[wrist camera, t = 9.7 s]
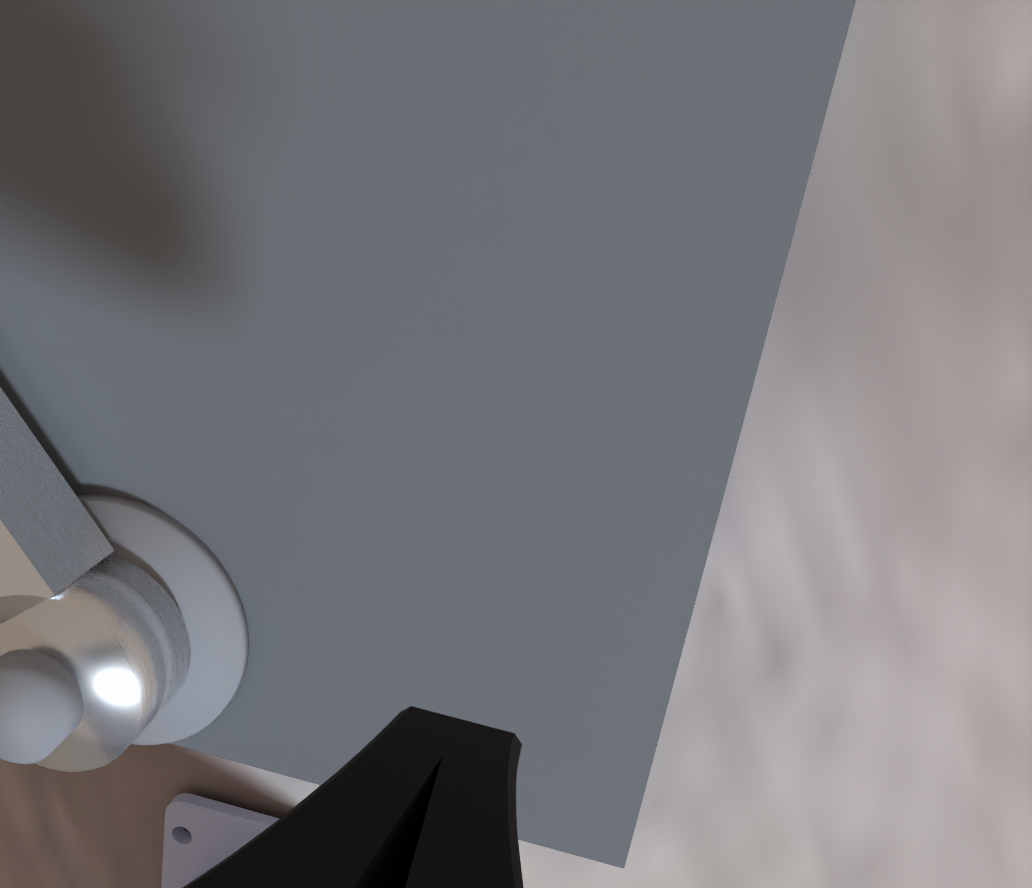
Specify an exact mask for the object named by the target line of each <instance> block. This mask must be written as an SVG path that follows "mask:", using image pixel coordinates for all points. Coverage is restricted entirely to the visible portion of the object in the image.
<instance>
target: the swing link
mask: <svg viewBox="0 0 1032 888" xmlns="http://www.w3.org/2000/svg"><path fill="white" fill-rule="evenodd" d="M113 551H115V550H114V549H113V548H112V546H111V545H110V543H109V542H108V540H107V539H106V538H105V536H104V535H103V533H102V532H101V530H100V529H99V528H98V526H97V525H96V523H95V522H94V520H93V519H92V518H91V516H90V515H89V513H88V512H87V510H86V509H85V508H84V506H83V505H82V503H81V502H80V500H79V499H78V498H77V496H76V495H75V493H74V492H73V490H72V489H71V487H70V486H69V485H68V483H67V482H66V480H65V479H64V477H63V476H62V475H61V473H60V472H59V470H58V469H57V467H56V466H55V465H54V463H53V462H52V460H51V459H50V457H49V456H48V455H47V453H46V452H45V450H44V449H43V447H42V446H41V445H40V443H39V442H38V440H37V439H36V437H35V436H34V434H33V433H32V432H31V430H30V429H29V427H28V426H27V424H26V423H25V422H24V420H23V419H22V417H21V416H20V414H19V413H18V412H17V410H16V409H15V407H14V406H13V404H12V403H11V402H10V400H9V399H8V397H7V396H6V394H5V393H4V392H3V390H2V389H1V387H0V656H2V655H3V654H5V653H7V652H9V651H12V650H17V649H28V650H34V651H38V652H41V653H43V654H46V655H48V656H50V657H51V658H53V659H55V660H56V661H58V662H59V663H60V664H61V665H62V666H64V667H65V668H66V669H67V670H68V671H69V673H70V674H71V675H72V676H73V678H74V679H75V681H76V683H77V684H78V686H79V689H80V691H81V694H82V698H83V707H84V708H83V715H82V719H81V721H80V723H79V725H78V726H77V727H76V729H75V730H74V731H73V732H72V733H71V734H70V735H69V736H67V737H66V738H65V739H64V740H63V741H62V742H61V743H60V744H59V745H58V746H57V747H56V748H55V749H54V750H53V751H52V752H51V753H50V754H49V755H48V756H47V757H45V758H44V759H42V760H40V761H38V762H35V763H34V764H36V765H39V766H42V767H45V768H49V769H53V770H58V771H67V772H80V771H88V770H93V769H97V768H100V767H102V766H105V765H107V764H109V763H110V762H112V761H114V760H115V759H116V758H118V757H119V756H120V755H121V754H122V753H123V752H124V751H125V750H126V749H127V748H128V747H129V746H130V745H131V743H132V742H133V741H134V740H135V739H136V738H137V737H138V736H139V735H140V734H141V732H142V731H143V730H144V729H145V728H146V727H147V726H148V725H149V724H150V723H151V722H152V720H153V719H154V718H155V717H156V716H157V715H158V714H159V713H160V712H161V711H162V709H163V708H164V707H165V706H166V705H167V704H168V703H169V702H170V701H171V700H172V698H173V697H174V696H175V695H176V694H177V693H178V692H179V690H180V689H181V687H182V686H183V684H184V682H185V680H186V677H187V675H188V671H189V667H190V659H191V647H190V640H189V635H188V631H187V628H186V625H185V622H184V620H183V617H182V615H181V613H180V611H179V609H178V608H177V606H176V604H175V603H174V601H173V600H172V598H171V597H170V596H169V595H168V593H167V592H166V591H165V590H164V589H163V588H162V586H161V585H160V584H159V583H158V582H157V581H156V580H154V579H153V578H152V577H151V576H150V575H148V574H147V573H146V572H144V571H143V570H142V569H140V568H139V567H137V566H135V565H134V564H132V563H130V562H128V561H126V560H124V559H121V558H119V557H116V556H114V555H110V554H111V553H112V552H113Z"/></svg>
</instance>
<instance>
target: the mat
mask: <svg viewBox="0 0 1032 888" xmlns="http://www.w3.org/2000/svg"><path fill="white" fill-rule="evenodd" d="M855 1H856V0H0V387H1V389H2V390H3V392H4V393H5V394H6V396H7V397H8V399H9V400H10V402H11V403H12V404H13V406H14V407H15V409H16V410H17V412H18V413H19V414H20V416H21V417H22V419H23V420H24V422H25V423H26V424H27V426H28V427H29V429H30V430H31V432H32V433H33V434H34V436H35V437H36V439H37V440H38V442H39V443H40V445H41V446H42V447H43V449H44V450H45V452H46V453H47V455H48V456H49V457H50V459H51V460H52V462H53V463H54V465H55V466H56V467H57V469H58V470H59V472H60V473H61V475H62V476H63V477H64V479H65V480H66V482H67V483H68V485H69V486H70V487H71V489H72V490H73V492H74V493H75V495H76V496H77V498H78V499H79V500H80V502H81V503H82V505H83V506H84V508H85V509H86V510H87V512H88V513H89V515H90V516H91V518H92V519H93V520H94V522H95V523H96V525H97V526H98V528H99V529H100V530H101V532H102V533H103V535H104V536H105V538H106V539H107V540H108V542H109V543H110V545H111V546H112V548H113V549H114V550H115V551H113V552H112V553H111V554H110V555H114V556H116V557H119V558H121V559H124V560H126V561H128V562H130V563H132V564H134V565H135V566H137V567H139V568H140V569H142V570H143V571H144V572H146V573H147V574H148V575H150V576H151V577H152V578H153V579H154V580H156V581H157V582H158V583H159V584H160V585H161V586H162V588H163V589H164V590H165V591H166V592H167V593H168V595H169V596H170V597H171V598H172V600H173V601H174V603H175V604H176V606H177V608H178V609H179V611H180V613H181V615H182V617H183V620H184V622H185V625H186V628H187V631H188V635H189V640H190V647H191V659H190V667H189V671H188V675H187V677H186V680H185V682H184V684H183V686H182V687H181V689H180V690H179V692H178V693H177V694H176V695H175V696H174V697H173V698H172V700H171V701H170V702H169V703H168V704H167V705H166V706H165V707H164V708H163V709H162V711H161V712H160V713H159V714H158V715H157V716H156V717H155V718H154V719H153V720H152V722H151V723H150V724H149V725H148V726H147V727H146V728H145V729H144V730H143V731H142V732H141V734H140V735H139V736H138V737H137V738H136V739H135V740H134V741H133V742H132V743H131V744H135V745H158V744H164V743H170V744H173V745H177V746H180V747H184V748H188V749H191V750H195V751H199V752H202V753H206V754H210V755H213V756H217V757H220V758H224V759H228V760H231V761H235V762H239V763H242V764H246V765H249V766H253V767H257V768H260V769H264V770H268V771H271V772H275V773H279V774H282V775H286V776H289V777H293V778H297V779H300V780H304V781H308V782H311V783H315V784H319V785H322V784H323V783H324V782H325V781H327V780H328V779H329V778H330V777H331V776H333V775H334V774H335V773H336V772H337V771H338V770H340V769H341V768H342V767H343V766H344V765H345V764H346V763H347V762H349V761H350V760H351V759H352V758H353V757H354V756H355V755H356V754H357V753H359V752H360V751H361V750H362V749H363V748H364V747H365V746H366V745H367V744H368V743H369V742H370V741H371V740H373V739H374V738H375V737H376V736H377V735H378V734H379V733H380V732H381V731H382V730H383V729H384V728H385V727H386V726H387V725H388V724H389V723H390V722H391V721H392V720H393V719H394V718H395V717H396V716H397V715H398V714H399V713H400V712H401V711H403V710H405V709H406V708H408V707H410V706H413V707H417V708H421V709H424V710H428V711H432V712H436V713H440V714H444V715H447V716H451V717H455V718H459V719H463V720H466V721H470V722H474V723H478V724H482V725H485V726H489V727H493V728H497V729H501V730H505V731H508V732H512V733H515V734H516V736H517V737H518V739H519V740H520V742H521V743H522V748H521V753H520V758H519V763H518V768H517V779H516V814H517V833H518V840H522V841H526V842H529V843H533V844H537V845H540V846H544V847H548V848H551V849H555V850H558V851H562V852H566V853H569V854H573V855H577V856H580V857H584V858H588V859H591V860H595V861H598V862H602V863H606V864H609V865H613V866H617V867H620V868H624V866H625V863H626V859H627V855H628V852H629V848H630V844H631V840H632V837H633V833H634V829H635V825H636V822H637V818H638V814H639V810H640V807H641V803H642V799H643V795H644V792H645V788H646V784H647V780H648V777H649V773H650V769H651V765H652V762H653V758H654V754H655V750H656V747H657V743H658V739H659V735H660V732H661V728H662V724H663V720H664V717H665V713H666V709H667V705H668V702H669V698H670V694H671V690H672V687H673V683H674V679H675V675H676V672H677V668H678V664H679V660H680V657H681V653H682V649H683V646H684V642H685V638H686V634H687V631H688V627H689V623H690V619H691V616H692V612H693V608H694V604H695V601H696V597H697V593H698V589H699V586H700V582H701V578H702V574H703V571H704V567H705V563H706V559H707V556H708V552H709V548H710V544H711V541H712V537H713V533H714V529H715V526H716V522H717V518H718V514H719V511H720V507H721V503H722V499H723V496H724V492H725V488H726V484H727V481H728V477H729V473H730V469H731V466H732V462H733V458H734V454H735V451H736V447H737V443H738V440H739V436H740V432H741V428H742V425H743V421H744V417H745V413H746V410H747V406H748V402H749V398H750V395H751V391H752V387H753V383H754V380H755V376H756V372H757V368H758V365H759V361H760V357H761V353H762V350H763V346H764V342H765V338H766V335H767V331H768V327H769V323H770V320H771V316H772V312H773V308H774V305H775V301H776V297H777V293H778V290H779V286H780V282H781V278H782V275H783V271H784V267H785V263H786V260H787V256H788V252H789V248H790V245H791V241H792V237H793V233H794V230H795V226H796V222H797V219H798V215H799V211H800V207H801V204H802V200H803V196H804V192H805V189H806V185H807V181H808V177H809V174H810V170H811V166H812V162H813V159H814V155H815V151H816V147H817V144H818V140H819V136H820V132H821V129H822V125H823V121H824V117H825V114H826V110H827V106H828V102H829V99H830V95H831V91H832V87H833V84H834V80H835V76H836V72H837V69H838V65H839V61H840V57H841V54H842V50H843V46H844V42H845V39H846V35H847V31H848V27H849V24H850V20H851V16H852V13H853V9H854V5H855ZM83 708H84V707H83V698H82V694H81V691H80V689H79V686H78V684H77V683H76V681H75V679H74V678H73V676H72V675H71V674H70V673H69V671H68V670H67V669H66V668H65V667H64V666H62V665H61V664H60V663H59V662H58V661H56V660H55V659H53V658H51V657H50V656H48V655H46V654H43V653H41V652H38V651H34V650H28V649H17V650H12V651H9V652H7V653H5V654H3V655H2V656H0V759H3V760H5V761H8V762H12V763H18V764H30V763H35V762H38V761H40V760H42V759H44V758H45V757H47V756H48V755H49V754H50V753H51V752H52V751H53V750H54V749H55V748H56V747H57V746H58V745H59V744H60V743H61V742H62V741H63V740H64V739H65V738H66V737H67V736H69V735H70V734H71V733H72V732H73V731H74V730H75V729H76V727H77V726H78V725H79V723H80V721H81V719H82V715H83Z"/></svg>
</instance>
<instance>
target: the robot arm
mask: <svg viewBox="0 0 1032 888" xmlns="http://www.w3.org/2000/svg"><path fill="white" fill-rule="evenodd" d="M521 748H522V743H521V742H520V740H519V739H518V737H517V736H516V734H515V733H512V732H508V731H505V730H501V729H497V728H493V727H489V726H485V725H482V724H478V723H474V722H470V721H466V720H463V719H459V718H455V717H451V716H447V715H444V714H440V713H436V712H432V711H428V710H424V709H421V708H417V707H413V706H410V707H408V708H406V709H405V710H403V711H401V712H400V713H399V714H398V715H397V716H396V717H395V718H394V719H393V720H392V721H391V722H390V723H389V724H388V725H387V726H386V727H385V728H384V729H383V730H382V731H381V732H380V733H379V734H378V735H377V736H376V737H375V738H374V739H373V740H371V741H370V742H369V743H368V744H367V745H366V746H365V747H364V748H363V749H362V750H361V751H360V752H359V753H357V754H356V755H355V756H354V757H353V758H352V759H351V760H350V761H349V762H347V763H346V764H345V765H344V766H343V767H342V768H341V769H340V770H338V771H337V772H336V773H335V774H334V775H333V776H331V777H330V778H329V779H328V780H327V781H325V782H324V783H323V784H322V785H321V786H319V787H318V788H317V789H316V790H315V791H313V792H312V793H311V794H310V795H309V796H307V797H306V798H305V799H304V800H303V801H301V802H300V803H299V804H298V805H297V806H295V807H294V808H293V809H292V810H290V811H289V812H288V813H287V814H285V815H284V816H283V817H281V818H280V819H279V818H275V817H272V816H268V815H265V814H261V813H258V812H254V811H250V810H247V809H243V808H240V807H236V806H233V805H229V804H226V803H222V802H218V801H215V800H211V799H208V798H204V797H201V796H197V795H194V794H188V793H182V794H178V795H177V796H175V797H174V798H173V799H172V801H171V802H170V803H169V805H168V806H167V808H166V811H165V821H164V840H163V860H162V879H161V888H523V881H522V872H521V863H520V854H519V845H518V833H517V814H516V779H517V768H518V763H519V758H520V753H521ZM182 827H184V828H186V829H187V830H188V831H189V832H190V833H189V832H187V831H185V830H184V829H183V828H182Z"/></svg>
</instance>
